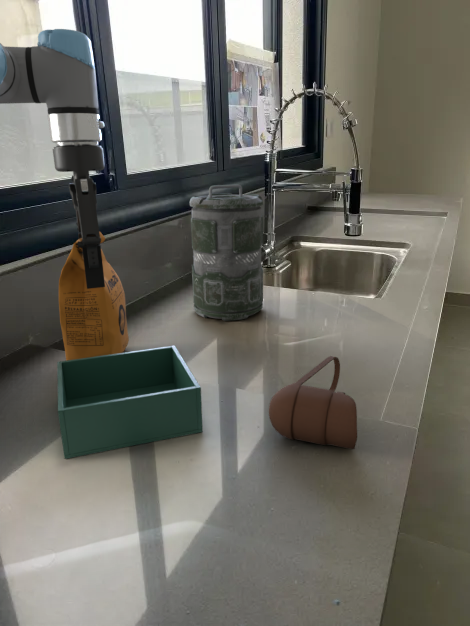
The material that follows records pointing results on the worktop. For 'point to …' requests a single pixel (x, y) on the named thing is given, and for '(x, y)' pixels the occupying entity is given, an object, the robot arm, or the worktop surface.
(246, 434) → the worktop surface
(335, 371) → the brown strapped handbag
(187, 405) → the green open box
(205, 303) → the canister
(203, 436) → the worktop surface
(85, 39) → the robot arm
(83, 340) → the coffee package
